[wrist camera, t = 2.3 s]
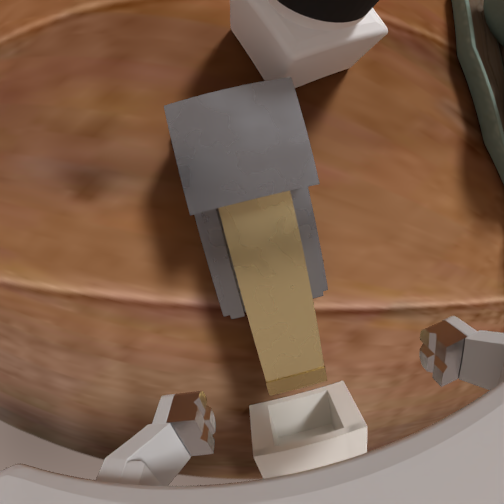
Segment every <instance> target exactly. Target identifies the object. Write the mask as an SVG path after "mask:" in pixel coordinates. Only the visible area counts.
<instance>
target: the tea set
mask: <svg viewBox="0 0 504 504" xmlns="http://www.w3.org/2000/svg"><path fill="white" fill-rule="evenodd" d="M451 1H452V7H453V15H454V23H455V33H456V47H457V57H458V59H459V62H460V64H461V67H462V69H463V72H464V75H465V78H466V80H467V83H468V86H469V89H470V92H471V95H472V99H473V102H474V105H475V109H476V112H477V116H478V120H479V123H480V127H481V132H482V136H483V140H484V144H485V146H486V148H487V150H488V152H489V154H490V156H491V158H492V160H493V162H494V164H495V166H496V168H497V171H498V173H499V175H500V177H501V180H502V182H503V184H504V0H451Z"/></svg>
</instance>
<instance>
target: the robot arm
mask: <svg viewBox="0 0 504 504" xmlns="http://www.w3.org/2000/svg"><path fill="white" fill-rule="evenodd" d="M420 340H421V341H422V342H423V344H422V346H421V348H420V360H421V364H422V365H423V367H424V368H425V370H426V371H428V372H432V373H433V378H434V380H435V381H436V382H437V383H438V384H439V385H440V386H441V387H442V386H444V385H446V384H448V383H450V382H452V381H454V380H456V379H458V378H459V379H460V380H463V381H466V382H468V383H471V384H474V385H477V386H480V387H482V388H485V389H488V390H490V391H488V392H487V393H485V394H484V395H482V396H481V397H479V398H478V399H476V400H475V401H473V402H471V403H470V404H468V405H467V406H465V407H463V408H461V409H460V410H458V411H456V412H455V413H453V414H451V415H449V416H447V417H445V418H444V419H442V420H440V421H438V422H436V423H434V424H432V425H430V426H428V427H426V428H424V429H422V430H420V431H418V432H416V433H413V434H411V435H409V436H407V437H404V438H402V439H400V440H398V441H395V442H393V443H390V444H388V445H385V446H383V447H380V448H378V449H375V450H372V451H369V452H367V453H364V454H361V455H358V456H355V457H352V458H349V459H346V460H343V461H339V462H336V463H333V464H329V465H325V466H322V467H318V468H314V469H310V470H306V471H302V472H297V473H293V474H288V475H283V476H277V477H272V478H266V479H260V480H253V481H246V482H237V483H228V484H217V485H200V486H168V485H169V484H170V483H171V482H172V480H173V479H174V478H175V477H176V475H177V474H178V473H179V472H180V471H181V469H182V468H183V467H184V466H185V464H186V463H187V462H188V460H189V459H190V458H191V456H198V455H207V454H214V444H215V440H214V438H213V436H212V435H213V434H214V433H215V431H216V423H215V417H214V414H213V411H212V409H211V408H210V407H209V406H207V405H206V404H207V398H206V396H205V394H204V392H202V391H196V392H188V393H179V394H170V395H163V396H162V397H161V399H160V401H159V404H158V407H157V410H156V413H155V416H154V419H153V422H152V424H148V425H147V426H146V427H144V428H143V429H142V430H141V431H139V432H138V433H137V434H136V435H134V436H133V437H132V438H131V439H129V440H128V441H127V442H125V443H124V444H123V445H122V446H120V447H119V448H118V449H116V450H115V451H114V452H112V453H111V454H110V455H108V456H107V457H106V458H105V459H104V462H103V464H102V466H101V469H100V471H99V474H98V476H97V478H96V480H89V479H83V478H77V477H72V476H68V475H62V474H58V473H54V472H50V471H46V470H42V469H39V468H35V467H32V466H28V465H25V464H16V465H13V466H10V467H8V468H6V469H4V470H2V471H0V504H504V333H499V332H491V331H483V330H480V331H476V330H475V329H473V328H472V327H470V326H469V325H467V324H466V323H465V322H463V321H462V320H460V319H459V318H457V317H456V316H451V317H448V318H446V319H444V320H442V321H441V322H439V323H437V324H435V325H432V326H430V327H428V328H425V329H423V330H422V331H421V334H420Z"/></svg>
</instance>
